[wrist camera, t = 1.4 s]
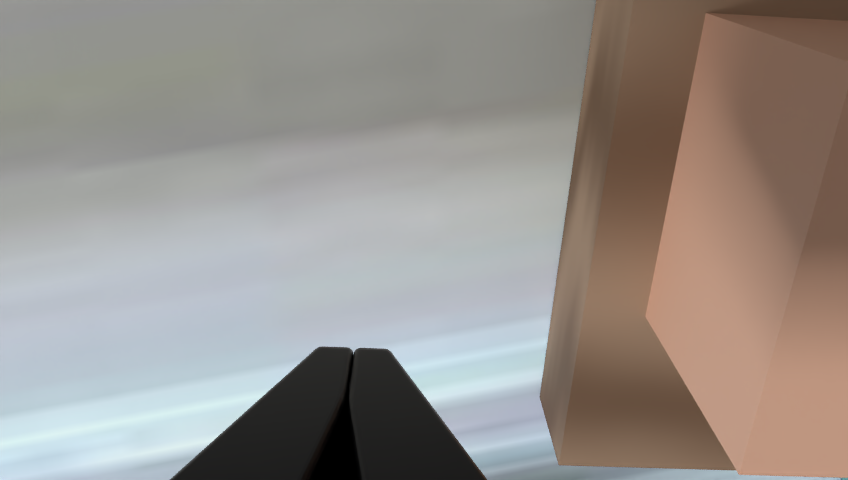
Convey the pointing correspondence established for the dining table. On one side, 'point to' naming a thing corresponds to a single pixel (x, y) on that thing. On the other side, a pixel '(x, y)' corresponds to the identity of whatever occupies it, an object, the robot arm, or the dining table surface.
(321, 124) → the dining table surface
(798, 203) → the terracotta block
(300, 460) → the robot arm
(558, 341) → the walnut deck
